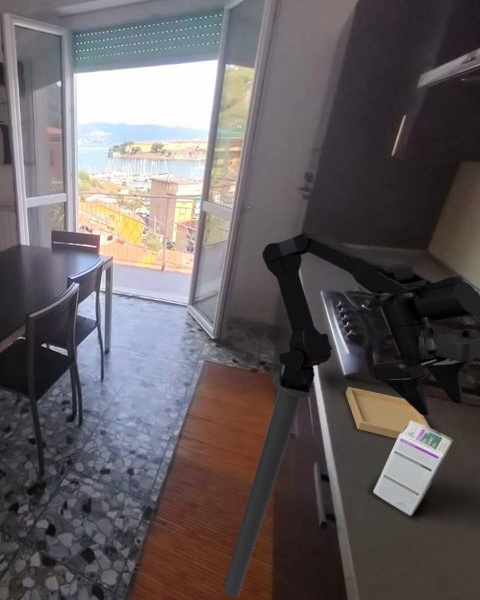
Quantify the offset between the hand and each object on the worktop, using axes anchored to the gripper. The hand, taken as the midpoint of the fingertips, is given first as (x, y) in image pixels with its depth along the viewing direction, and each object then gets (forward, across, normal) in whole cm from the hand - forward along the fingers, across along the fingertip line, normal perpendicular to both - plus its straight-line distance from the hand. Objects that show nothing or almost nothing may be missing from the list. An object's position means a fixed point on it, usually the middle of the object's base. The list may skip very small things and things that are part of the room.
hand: (441, 408), depth 64 cm
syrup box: (+13, -10, +6) cm, 18 cm away
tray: (+5, +8, +17) cm, 19 cm away
